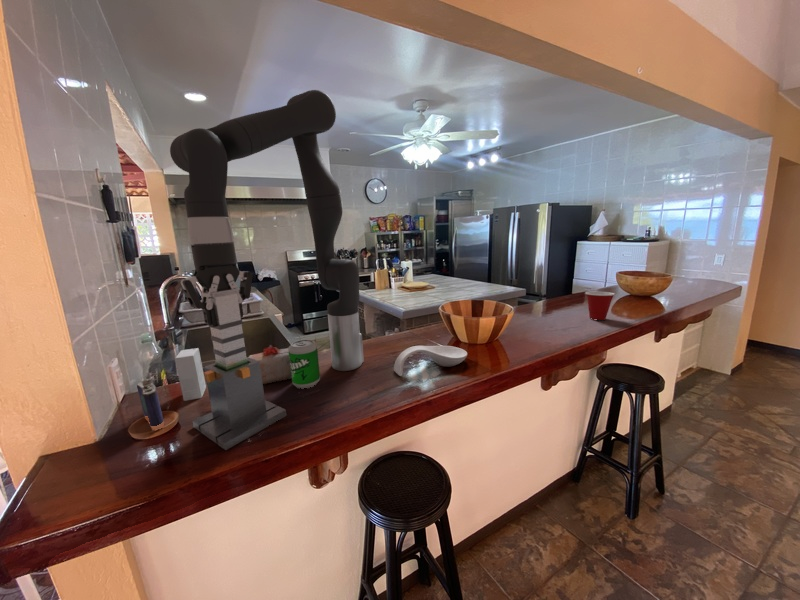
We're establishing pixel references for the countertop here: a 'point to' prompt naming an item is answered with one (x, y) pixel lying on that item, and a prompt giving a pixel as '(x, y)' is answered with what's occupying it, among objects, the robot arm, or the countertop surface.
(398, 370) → the spoon rest
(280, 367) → the food item
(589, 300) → the plastic cup
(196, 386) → the skincare box
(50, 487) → the countertop surface
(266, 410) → the stand
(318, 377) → the soda can
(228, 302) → the column
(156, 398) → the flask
